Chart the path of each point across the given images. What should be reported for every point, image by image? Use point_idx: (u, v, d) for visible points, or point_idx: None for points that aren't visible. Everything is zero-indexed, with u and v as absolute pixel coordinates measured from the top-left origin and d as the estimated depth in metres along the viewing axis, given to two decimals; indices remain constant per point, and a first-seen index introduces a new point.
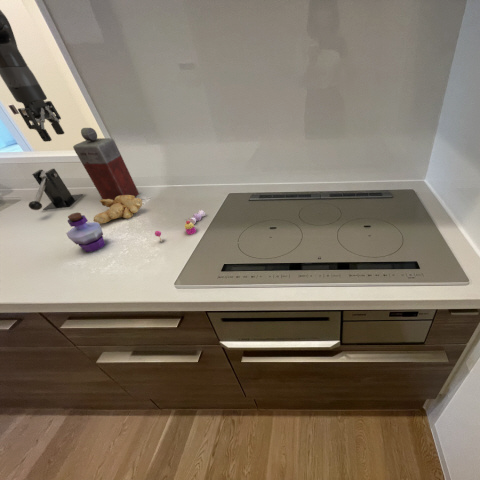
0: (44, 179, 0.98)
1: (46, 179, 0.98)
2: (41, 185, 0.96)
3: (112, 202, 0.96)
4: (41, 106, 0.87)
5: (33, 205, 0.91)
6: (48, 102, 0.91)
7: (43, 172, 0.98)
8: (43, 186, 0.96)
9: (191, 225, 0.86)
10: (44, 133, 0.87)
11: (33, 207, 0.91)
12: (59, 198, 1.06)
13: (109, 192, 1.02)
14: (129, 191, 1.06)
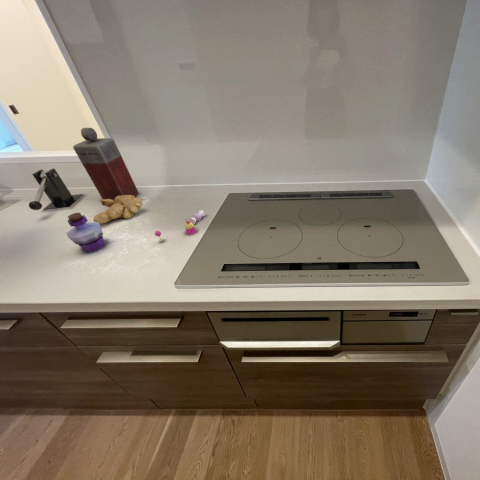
0: (44, 179, 0.98)
1: (46, 179, 0.98)
2: (41, 185, 0.96)
3: (112, 202, 0.96)
4: None
5: (33, 205, 0.91)
6: None
7: (43, 172, 0.98)
8: (43, 186, 0.96)
9: (191, 225, 0.86)
10: None
11: (33, 207, 0.91)
12: (59, 198, 1.06)
13: (109, 192, 1.02)
14: (129, 191, 1.06)
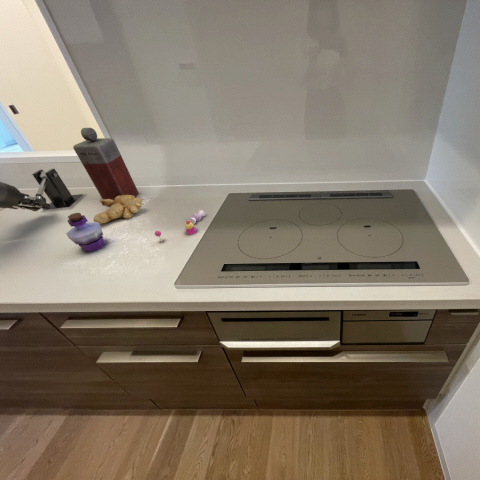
0: (44, 179, 0.98)
1: (46, 179, 0.98)
2: (41, 185, 0.96)
3: (112, 202, 0.96)
4: None
5: None
6: (36, 200, 0.87)
7: (43, 172, 0.98)
8: (43, 186, 0.96)
9: (191, 225, 0.86)
10: (27, 208, 0.92)
11: (33, 207, 0.91)
12: (59, 198, 1.06)
13: (109, 192, 1.02)
14: (129, 191, 1.06)
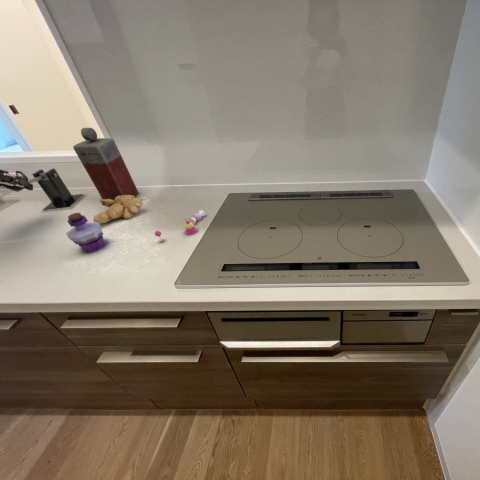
0: (42, 175, 0.97)
1: (44, 176, 0.97)
2: None
3: (112, 202, 0.96)
4: None
5: None
6: (16, 177, 0.81)
7: (45, 172, 0.99)
8: (37, 178, 0.94)
9: (191, 225, 0.86)
10: None
11: None
12: (59, 198, 1.06)
13: (109, 192, 1.02)
14: (129, 191, 1.06)
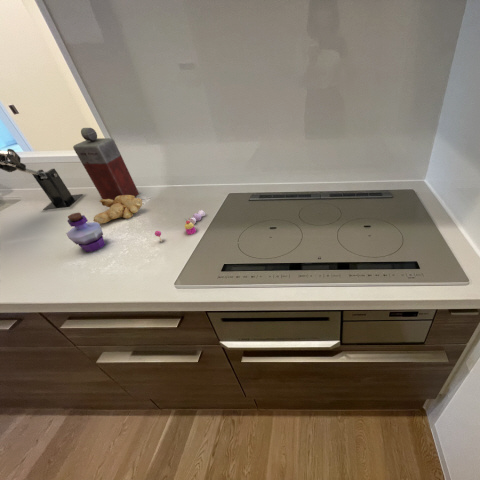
0: (41, 173, 0.97)
1: (43, 174, 0.97)
2: None
3: (112, 202, 0.96)
4: None
5: (8, 161, 0.84)
6: (7, 155, 0.79)
7: None
8: (35, 171, 0.94)
9: (191, 225, 0.86)
10: None
11: None
12: (59, 198, 1.06)
13: (109, 192, 1.02)
14: (129, 191, 1.06)
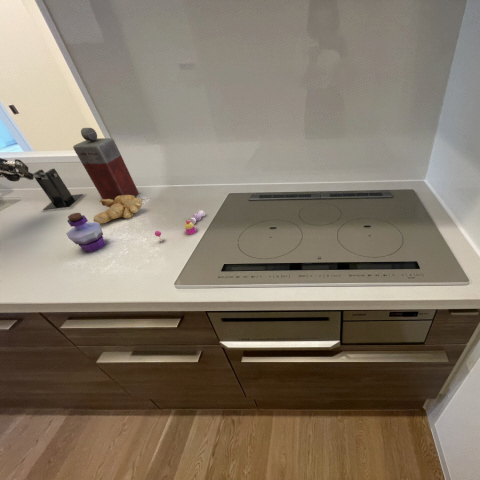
0: None
1: (43, 175, 0.97)
2: None
3: (112, 202, 0.96)
4: None
5: None
6: (15, 165, 0.81)
7: None
8: (35, 175, 0.94)
9: (191, 225, 0.86)
10: None
11: (9, 174, 0.84)
12: (59, 198, 1.06)
13: (109, 192, 1.02)
14: (129, 191, 1.06)
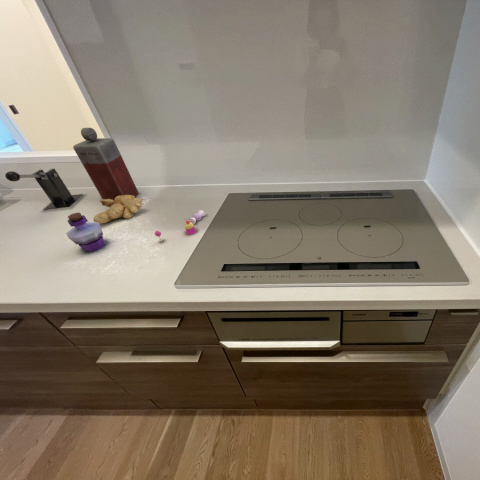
0: None
1: (43, 175, 0.97)
2: None
3: (112, 202, 0.96)
4: None
5: (10, 172, 0.85)
6: None
7: None
8: (35, 175, 0.94)
9: (191, 225, 0.86)
10: None
11: (9, 174, 0.84)
12: (59, 198, 1.06)
13: (109, 192, 1.02)
14: (129, 191, 1.06)
